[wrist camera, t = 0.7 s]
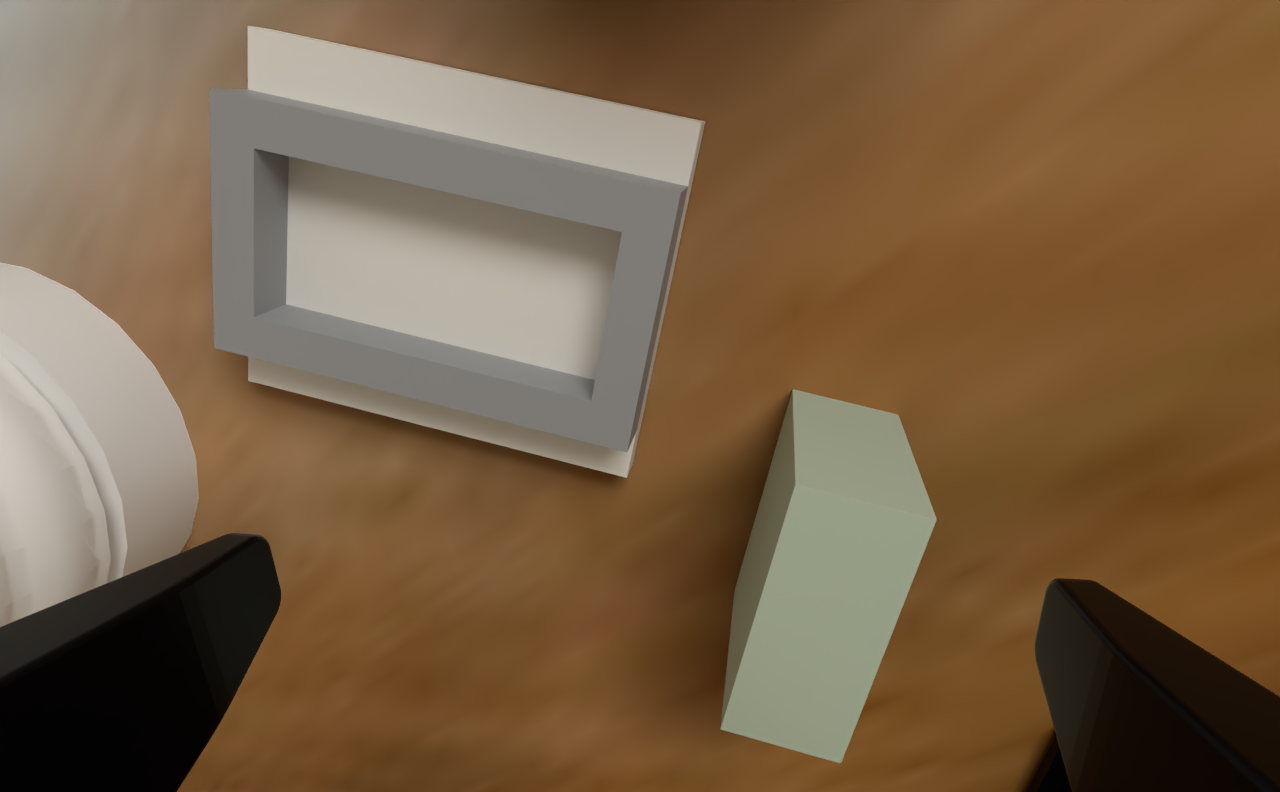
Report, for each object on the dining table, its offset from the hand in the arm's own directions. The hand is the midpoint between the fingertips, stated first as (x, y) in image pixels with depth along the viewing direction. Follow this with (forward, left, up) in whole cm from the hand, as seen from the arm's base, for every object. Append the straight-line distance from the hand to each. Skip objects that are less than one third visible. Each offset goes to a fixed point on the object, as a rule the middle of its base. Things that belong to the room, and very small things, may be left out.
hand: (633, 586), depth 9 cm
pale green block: (-5, -4, -14) cm, 15 cm away
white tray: (0, +8, -14) cm, 16 cm away
